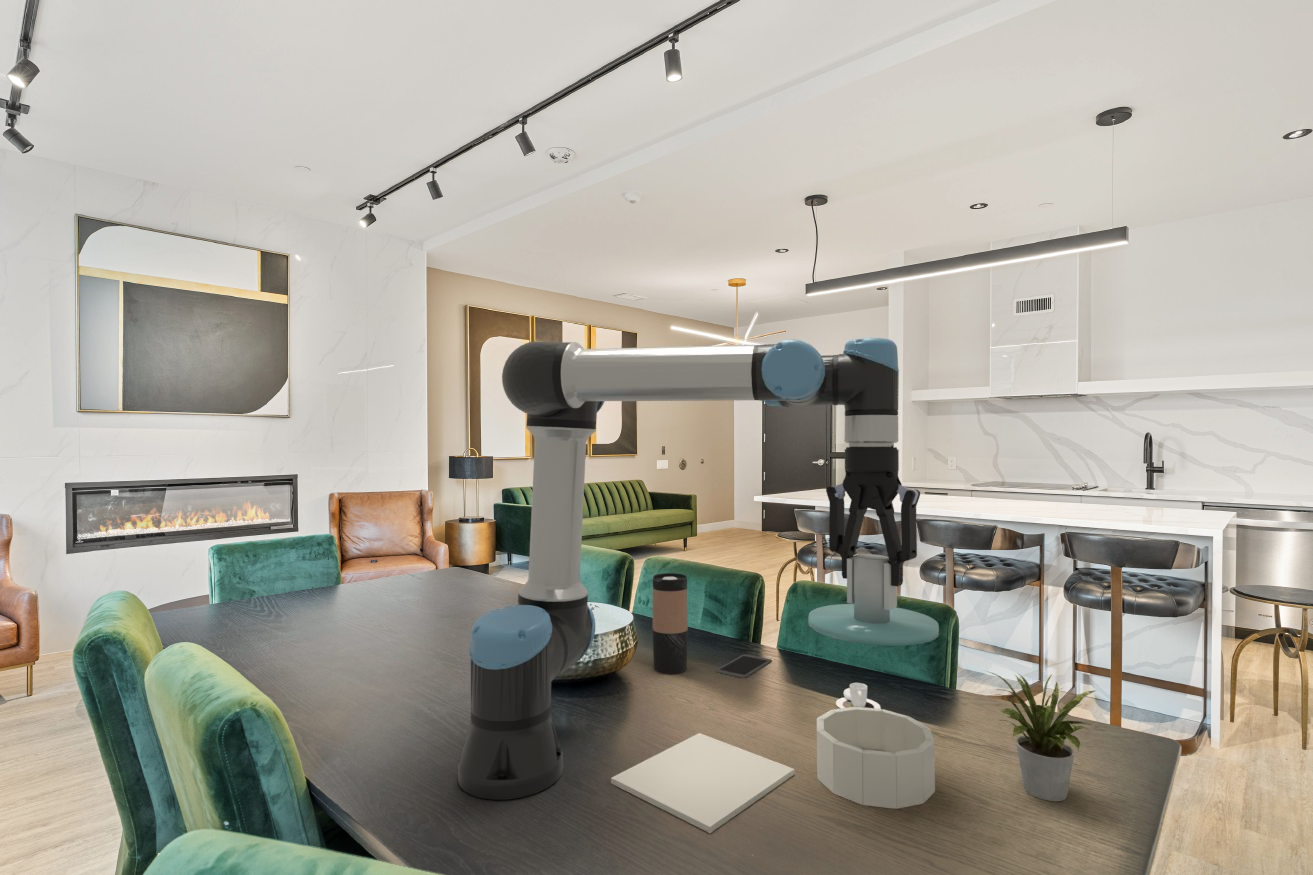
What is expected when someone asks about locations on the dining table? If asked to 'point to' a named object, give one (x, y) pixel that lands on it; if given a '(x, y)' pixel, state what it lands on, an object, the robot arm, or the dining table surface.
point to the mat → (703, 780)
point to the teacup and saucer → (856, 696)
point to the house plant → (1044, 743)
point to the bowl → (875, 757)
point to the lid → (872, 613)
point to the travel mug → (670, 623)
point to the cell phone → (743, 666)
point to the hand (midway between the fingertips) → (871, 604)
